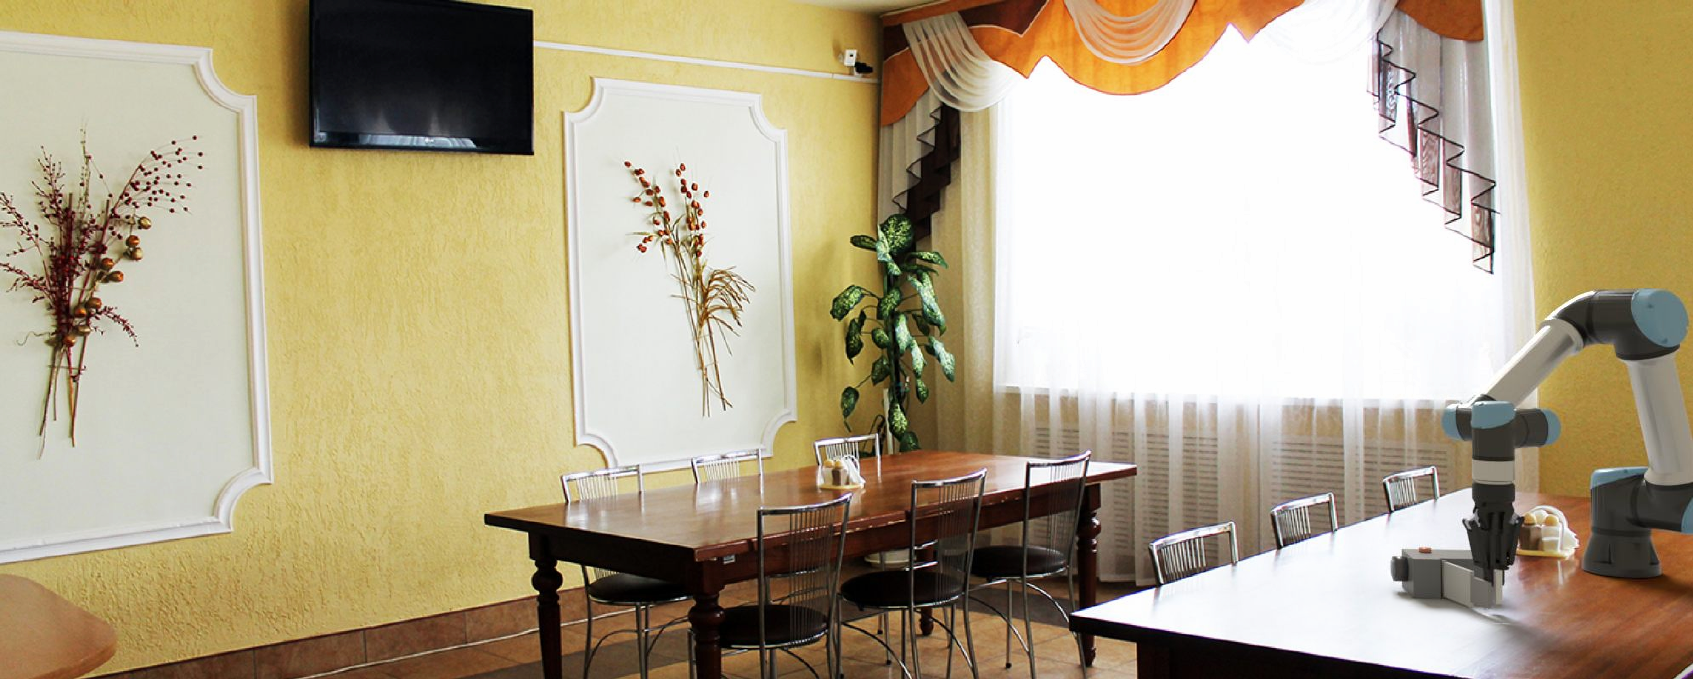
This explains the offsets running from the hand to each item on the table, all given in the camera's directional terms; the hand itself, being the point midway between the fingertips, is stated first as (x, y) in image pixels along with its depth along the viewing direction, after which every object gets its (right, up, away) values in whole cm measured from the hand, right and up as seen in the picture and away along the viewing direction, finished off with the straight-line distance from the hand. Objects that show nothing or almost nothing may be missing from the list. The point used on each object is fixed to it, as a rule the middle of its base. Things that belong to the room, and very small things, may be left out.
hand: (1494, 602), depth 257 cm
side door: (-3, -2, +5) cm, 6 cm away
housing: (-2, -2, +18) cm, 18 cm away
